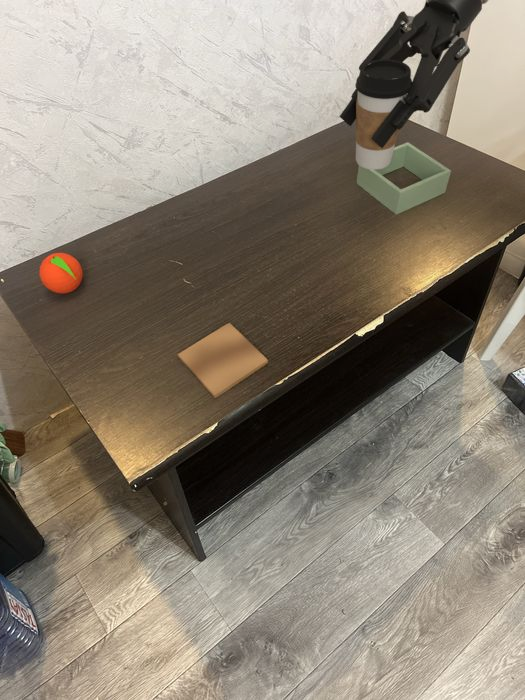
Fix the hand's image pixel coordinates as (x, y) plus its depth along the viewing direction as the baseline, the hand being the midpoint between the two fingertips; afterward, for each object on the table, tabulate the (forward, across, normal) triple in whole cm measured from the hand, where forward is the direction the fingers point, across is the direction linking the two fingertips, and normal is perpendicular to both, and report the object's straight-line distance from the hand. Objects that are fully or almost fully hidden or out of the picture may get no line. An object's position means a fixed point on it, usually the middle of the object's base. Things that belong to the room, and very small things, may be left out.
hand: (360, 132), depth 80 cm
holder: (+2, +5, -25) cm, 26 cm away
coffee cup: (+2, 0, -7) cm, 7 cm away
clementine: (+49, +14, +22) cm, 56 cm away
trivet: (+38, -14, +11) cm, 42 cm away
